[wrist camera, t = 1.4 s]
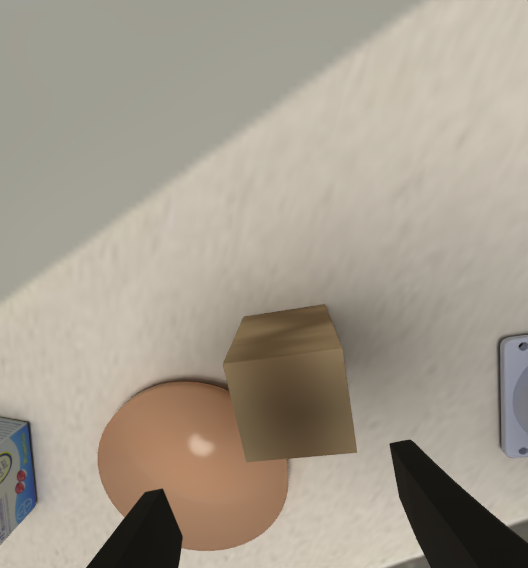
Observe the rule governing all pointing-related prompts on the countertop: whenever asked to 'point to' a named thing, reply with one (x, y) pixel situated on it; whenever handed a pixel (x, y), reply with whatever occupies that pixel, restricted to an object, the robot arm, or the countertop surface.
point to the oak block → (290, 386)
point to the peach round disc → (191, 465)
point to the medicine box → (15, 475)
